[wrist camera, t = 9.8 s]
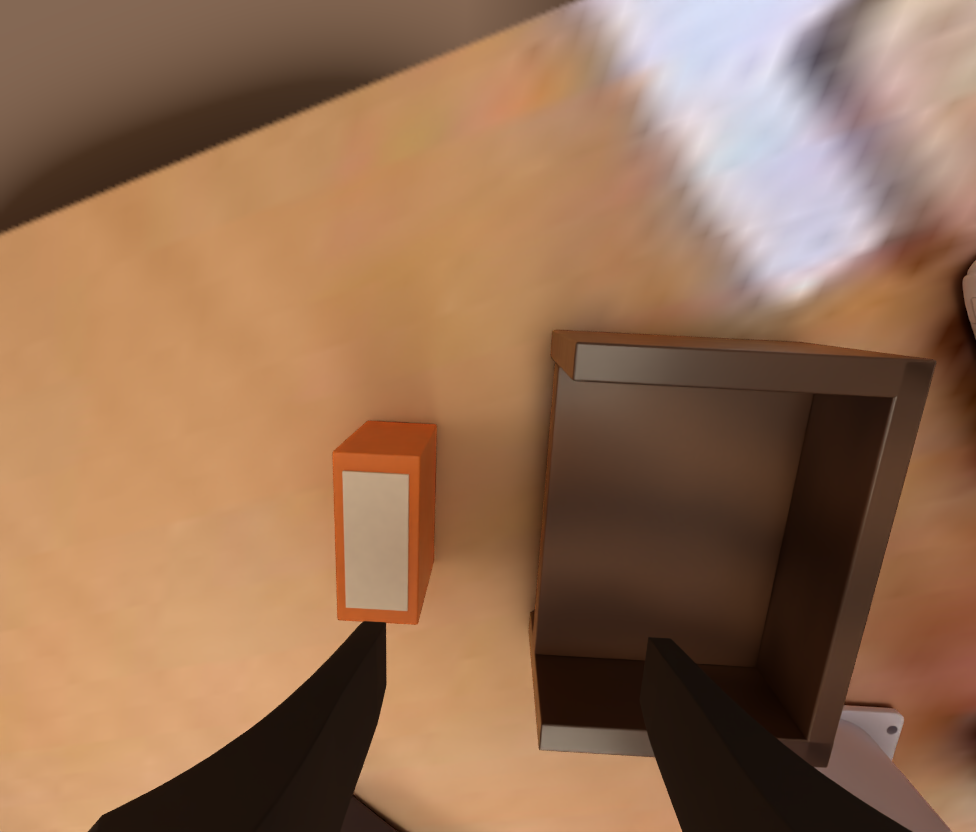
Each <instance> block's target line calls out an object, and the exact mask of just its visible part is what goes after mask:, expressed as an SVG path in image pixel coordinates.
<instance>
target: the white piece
mask: <svg viewBox="0 0 976 832" xmlns="http://www.w3.org/2000/svg"><path fill="white" fill-rule="evenodd" d="M962 285H963V294H964V301H965V306H966V310H967V313H968V318H969V320H970V323H971V327H972V329H973V333H974V336H975V339H976V260H975V261H974V263H973V264H972V265H971V267H970V268H969V269H968V272H967V275H966V276H965V277H964V278H963V282H962Z"/></svg>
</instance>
